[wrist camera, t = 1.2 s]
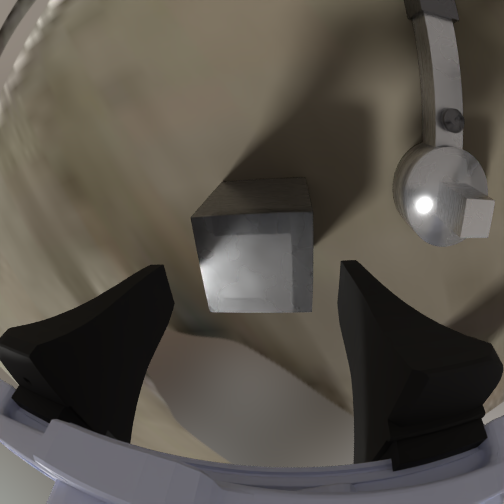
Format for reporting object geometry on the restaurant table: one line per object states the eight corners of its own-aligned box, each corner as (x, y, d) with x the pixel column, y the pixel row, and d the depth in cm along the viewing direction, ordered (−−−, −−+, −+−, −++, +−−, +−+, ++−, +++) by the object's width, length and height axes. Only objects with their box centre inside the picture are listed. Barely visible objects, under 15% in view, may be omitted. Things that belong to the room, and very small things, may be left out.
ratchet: (461, 229, 16) (502, 269, 11) (389, 230, 17) (420, 275, 12) (433, -62, 6) (463, -90, 1) (354, -81, 7) (369, -122, 2)
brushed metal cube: (306, 252, 19) (311, 311, 13) (231, 254, 19) (210, 311, 14) (305, 177, 16) (312, 211, 11) (221, 182, 17) (190, 217, 12)
